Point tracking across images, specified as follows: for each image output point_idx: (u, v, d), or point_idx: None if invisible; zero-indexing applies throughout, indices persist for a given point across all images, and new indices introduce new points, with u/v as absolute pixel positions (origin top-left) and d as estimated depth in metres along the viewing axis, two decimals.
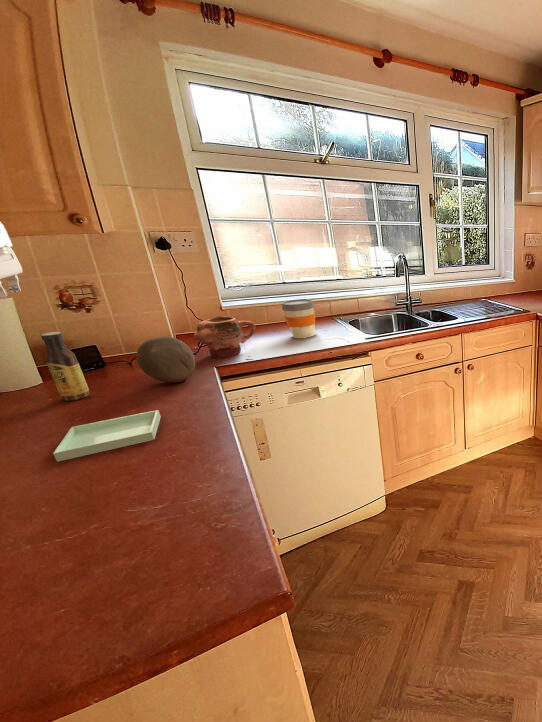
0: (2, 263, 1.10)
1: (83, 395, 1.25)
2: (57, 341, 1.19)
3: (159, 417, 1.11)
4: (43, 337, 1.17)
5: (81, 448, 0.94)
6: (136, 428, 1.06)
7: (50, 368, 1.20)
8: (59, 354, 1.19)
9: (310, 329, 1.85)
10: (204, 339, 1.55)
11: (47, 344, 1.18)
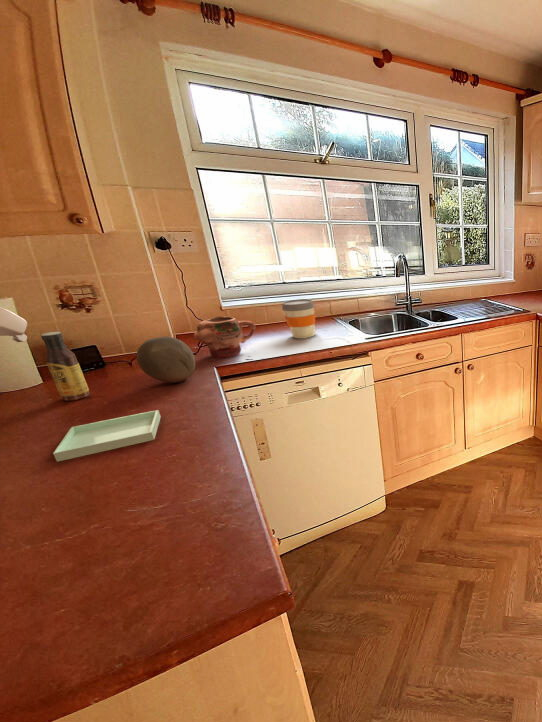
0: None
1: (83, 395, 1.25)
2: (57, 341, 1.19)
3: (159, 417, 1.11)
4: (43, 337, 1.17)
5: (81, 448, 0.94)
6: (136, 428, 1.06)
7: (50, 368, 1.20)
8: (59, 354, 1.20)
9: (310, 329, 1.85)
10: (204, 339, 1.55)
11: (47, 344, 1.18)
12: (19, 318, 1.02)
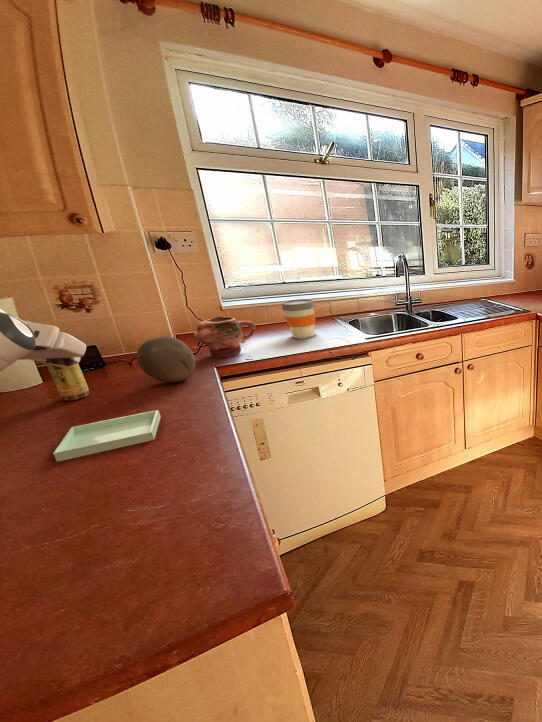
0: None
1: (83, 395, 1.25)
2: None
3: (159, 417, 1.11)
4: None
5: (81, 448, 0.94)
6: (136, 428, 1.06)
7: (49, 368, 1.19)
8: None
9: (310, 329, 1.85)
10: (204, 339, 1.55)
11: None
12: (80, 342, 1.17)
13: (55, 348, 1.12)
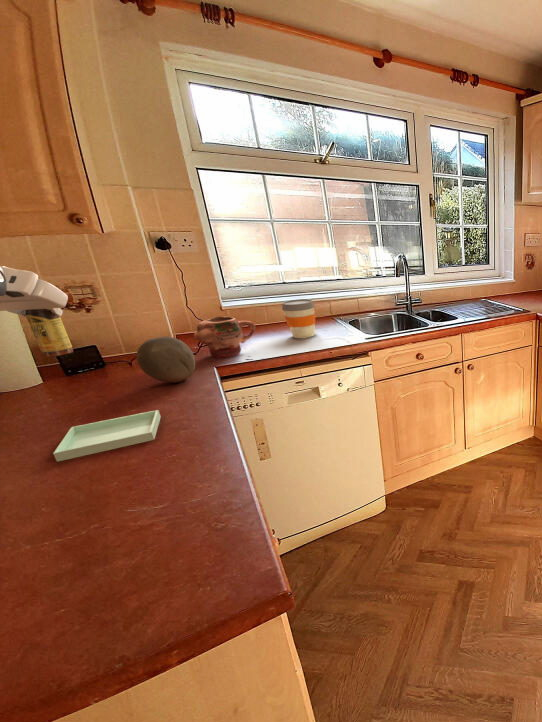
0: None
1: (65, 351, 1.19)
2: None
3: (159, 417, 1.11)
4: None
5: (81, 448, 0.94)
6: (136, 428, 1.06)
7: (29, 321, 1.13)
8: None
9: (310, 329, 1.85)
10: (204, 339, 1.55)
11: None
12: (61, 292, 1.11)
13: (33, 295, 1.06)
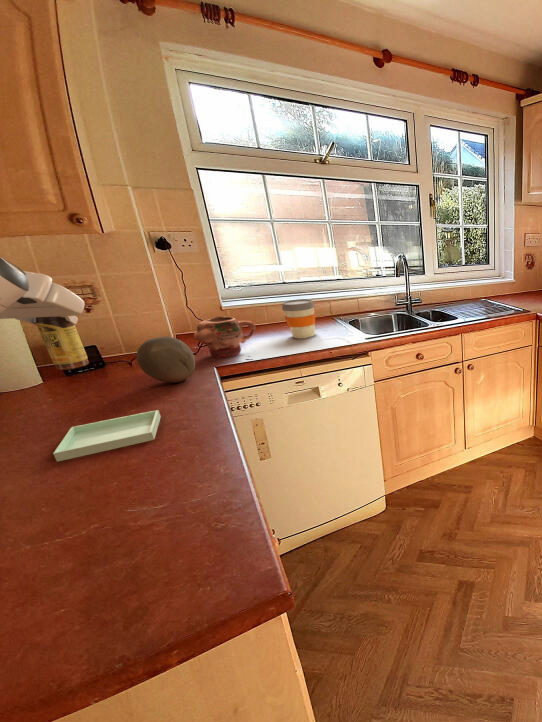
0: None
1: (81, 363, 1.05)
2: None
3: (159, 417, 1.11)
4: None
5: (81, 448, 0.94)
6: (136, 428, 1.06)
7: (40, 329, 1.00)
8: None
9: (310, 329, 1.85)
10: (204, 339, 1.55)
11: None
12: (77, 297, 0.98)
13: (47, 302, 0.92)
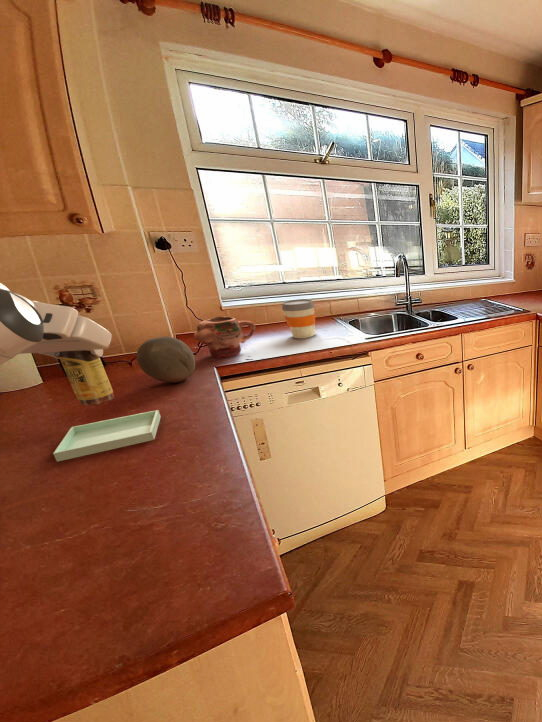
0: None
1: (106, 398, 0.98)
2: None
3: (159, 417, 1.11)
4: None
5: (81, 448, 0.94)
6: (136, 428, 1.06)
7: (64, 364, 0.92)
8: None
9: (310, 329, 1.85)
10: (204, 339, 1.55)
11: None
12: (104, 330, 0.90)
13: (73, 337, 0.85)
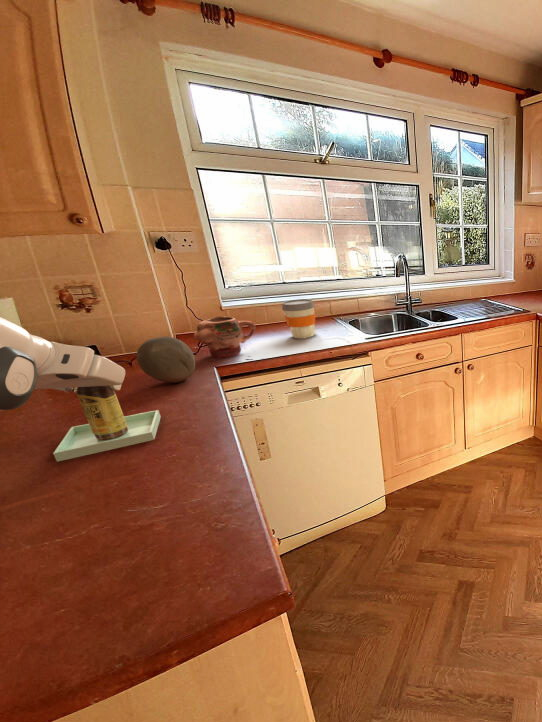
0: None
1: (120, 432, 1.01)
2: None
3: (159, 417, 1.11)
4: None
5: (81, 448, 0.94)
6: (136, 428, 1.06)
7: (82, 401, 0.96)
8: None
9: (310, 329, 1.85)
10: (204, 339, 1.55)
11: None
12: (118, 367, 0.93)
13: (89, 376, 0.88)
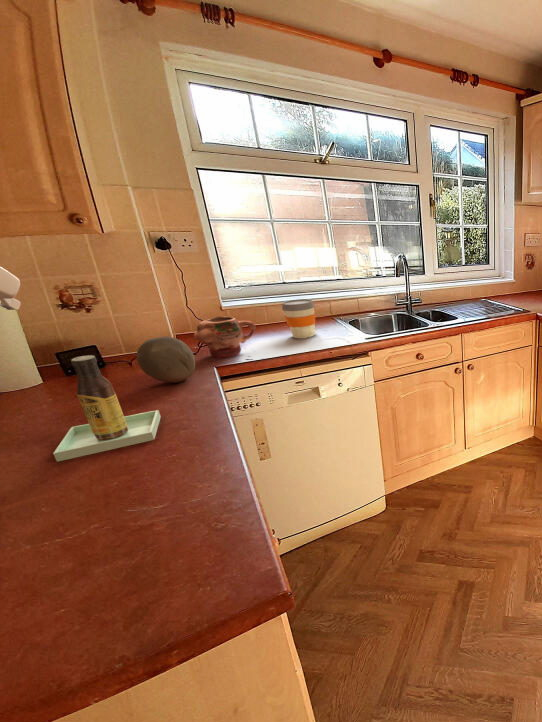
0: None
1: (120, 432, 1.01)
2: (91, 367, 0.95)
3: (159, 417, 1.11)
4: (74, 363, 0.93)
5: (81, 448, 0.94)
6: (136, 428, 1.06)
7: (82, 401, 0.96)
8: (93, 384, 0.96)
9: (310, 329, 1.85)
10: (204, 339, 1.55)
11: (79, 371, 0.94)
12: (9, 274, 0.73)
13: None
